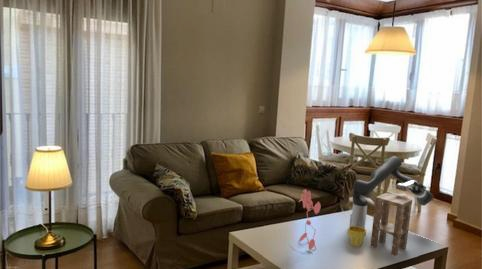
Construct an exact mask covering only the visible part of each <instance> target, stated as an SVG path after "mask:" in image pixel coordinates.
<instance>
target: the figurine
mask: <svg viewBox="0 0 482 269" xmlns="http://www.w3.org/2000/svg"><path fill="white" fill-rule="evenodd" d="M302 191H303V193H301V195H300V197H301V198H300V200H299V201H298V203H300V202H301V201H302V208H303V209H306V210H307V211H306V217H307V220H306V222H305V227H304V228H305V229H304V233H303V234H302V235H301V236H300V237H299V239H298V242H301V241H303V240H304V239H305V238H306V239H307V242H308V243H307V244H308V250H309V251H311V250H312V249H313V248H315V250H316V249H317V246H316V241H315V239H314V238H315V234H316V229H315V228H314V227H313V226H312V225H311V223H312V222H311V220H309V215H308V214H309V212H310V211H312V210H313V211H314V214H315V215H317V214H319V213H320V211H321V207H322V206H321V203H320V201H317V203H315V205H314V203H313V201H312V196H311V195H312V193H311V191H310V190H307V189H303V190H302ZM307 226H310V227H311V228H312V229H313V230H314V232H313V236H312V238H311V239H310V240H309V238H308V236H307V235H308V233H307V232H306V231H307ZM303 254H305V255H306V253H304V252H303Z"/></svg>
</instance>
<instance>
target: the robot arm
mask: <svg viewBox="0 0 482 269" xmlns="http://www.w3.org/2000/svg"><path fill="white" fill-rule="evenodd" d="M402 163H403V162H402V160H401V158H400V157H399V156H394V155H393V156H390V157H389V159H388V160H387V161H386V162H385V163H383V164H381V165H380V166H378V167H377V168H375V169H374V170H373V171H372V172H371V174H370V181H365V180H361V179H357V180H355V182H354V183H353V189H352V190H353V191H352V210H351V213H350V217H349V226H348V228H349V227H350V226H359V227H362V228H364V229H365V228H366V222H367V221H366V220H367V211H368V203H369V202H368V200H367V198H364V196H367V197H368V196H370V194H371V193H372V192H373V191H374V190H375V189H377V187H378V186H379V185H380V184H382V183H383V182H384V181H385V180H387V179H388V177H389V176H390V175H392V176H394V177H395V179H396V180H398V181H400V183H401V184H403V183H406V182H408V181H411V180H414V183H413V184H414V185H415V186H413V187H411V188H409V191H410V192H412V193H413V195H414V196H415V197H416V200H417V204H419V205H420V206H422V207H423V206H427V205H428V204H429V203H430V202H431V201H432V200H434V195H433V193H432V192H430V191H428V190H427V187H426V186H425V185H423V184H422V183H418V181H417V180H415V179H413V178H412V177H409V176H407V175H404V174H402V173H401V172H400V171H399V168H400V167H401V166H402ZM416 181H417V182H416ZM365 230H366V229H365Z"/></svg>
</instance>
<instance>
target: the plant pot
mask: <svg viewBox="0 0 482 269" xmlns="http://www.w3.org/2000/svg"><path fill="white" fill-rule="evenodd" d="M347 234H348V236H349V244H350V246H354V247H361V246H362V244H363V241H364V239H365V237H366V236H367V230H366V229H364V228H362V227H359V226H350V227H349V226H348V231H347Z"/></svg>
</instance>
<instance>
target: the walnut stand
mask: <svg viewBox="0 0 482 269" xmlns="http://www.w3.org/2000/svg"><path fill="white" fill-rule="evenodd" d="M390 205H391V206H394V207H396V209H395V210H396V211H395V220H394V223H391V222H389V214H390ZM412 206H413V199H410V198H407V197H403V196H399V195H397V194H396V195H395V194H392V193H389V192H385V193H383V194H380V195H378V196H376V197H375V203H374V209H373V210H374V212H373V218H372V227H371V229H372V230H371V237H370V245H369V247H372V248H377V247H378V244H379V243H382V244H384V243H385V242H386V238H387V235H391V236H393V237H392V243H391V249H390V250H391V251H390V254H391V255H393V256H398V255H399V251H400V250H402V251H406V249H407V244H408V237H409V230H410V229H409V228H410V220H411V213H412Z"/></svg>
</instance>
